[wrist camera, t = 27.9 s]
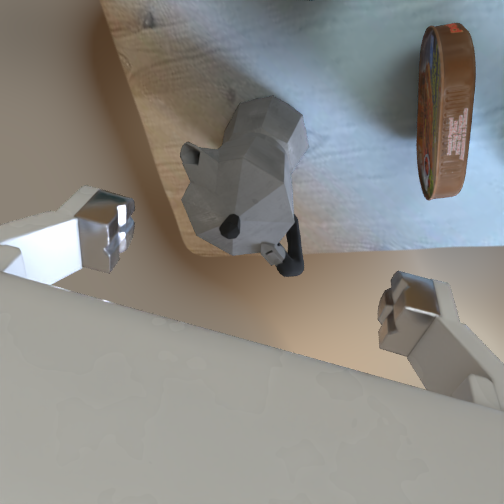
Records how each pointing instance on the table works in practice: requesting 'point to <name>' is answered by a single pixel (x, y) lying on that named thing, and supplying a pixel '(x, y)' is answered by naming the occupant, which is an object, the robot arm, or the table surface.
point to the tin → (444, 109)
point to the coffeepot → (250, 184)
